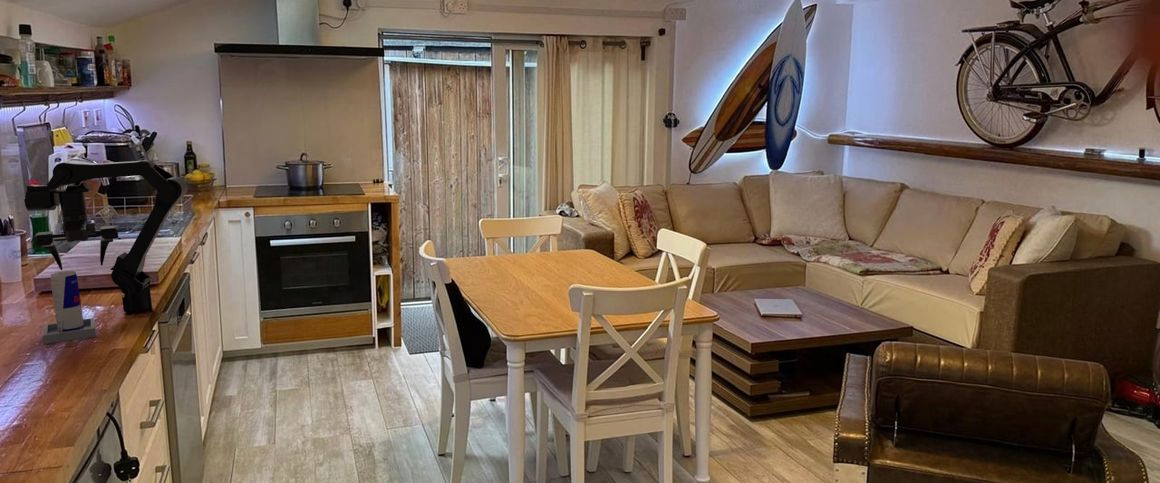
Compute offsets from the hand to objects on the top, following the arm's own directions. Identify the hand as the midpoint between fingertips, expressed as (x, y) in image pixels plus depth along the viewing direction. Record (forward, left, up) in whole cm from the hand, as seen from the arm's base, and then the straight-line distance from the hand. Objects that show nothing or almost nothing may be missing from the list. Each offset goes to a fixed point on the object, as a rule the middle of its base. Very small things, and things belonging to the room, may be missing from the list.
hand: (81, 267), depth 223 cm
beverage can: (+4, +18, -13) cm, 22 cm away
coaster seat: (+4, +18, -13) cm, 23 cm away
